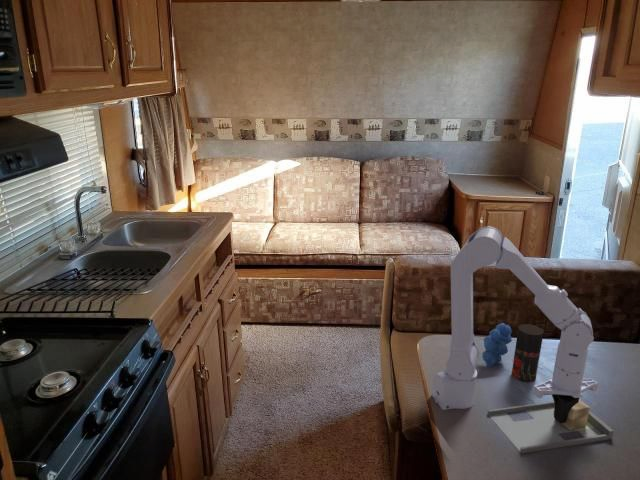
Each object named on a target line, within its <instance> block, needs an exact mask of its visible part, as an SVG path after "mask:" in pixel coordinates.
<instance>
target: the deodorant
mask: <svg viewBox="0 0 640 480" xmlns="http://www.w3.org/2000/svg"><path fill="white" fill-rule="evenodd" d="M544 332H545V331H544V329H543V328H541V327H539V326H537V325H535V324H530V323H523V324H520V325H518V328H517V334H516V335H517V336H516V340H515V341H516V342H515V348H514V355H513V362H512V367H511V368H512V369H511V376H512V377H513V378H514V379H515V380H517V381H520V382H524V383H533V382H535V381H536V380H537V375H538V374H537V373H538V369H539V362H540V356H541V350H542V345H543V340H544Z"/></svg>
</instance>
